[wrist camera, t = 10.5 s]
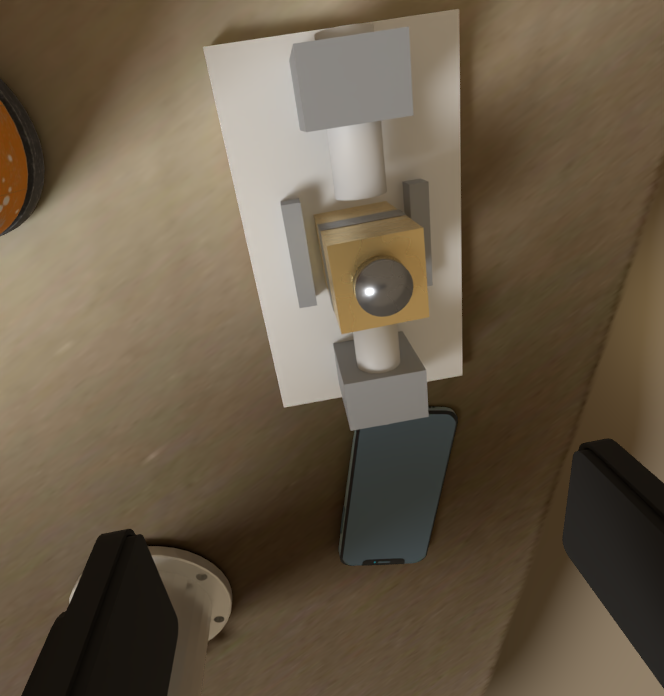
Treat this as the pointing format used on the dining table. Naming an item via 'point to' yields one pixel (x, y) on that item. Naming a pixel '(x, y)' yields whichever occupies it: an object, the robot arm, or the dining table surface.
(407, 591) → the dining table surface
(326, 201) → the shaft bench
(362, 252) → the block
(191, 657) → the robot arm
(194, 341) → the dining table surface
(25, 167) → the canister
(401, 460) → the smartphone
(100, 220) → the dining table surface
